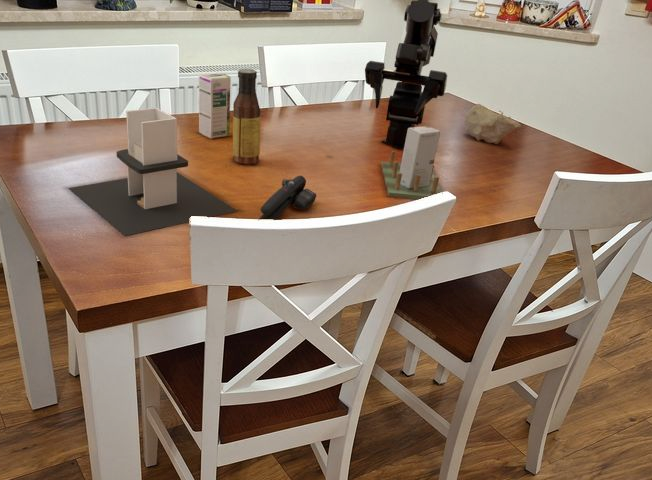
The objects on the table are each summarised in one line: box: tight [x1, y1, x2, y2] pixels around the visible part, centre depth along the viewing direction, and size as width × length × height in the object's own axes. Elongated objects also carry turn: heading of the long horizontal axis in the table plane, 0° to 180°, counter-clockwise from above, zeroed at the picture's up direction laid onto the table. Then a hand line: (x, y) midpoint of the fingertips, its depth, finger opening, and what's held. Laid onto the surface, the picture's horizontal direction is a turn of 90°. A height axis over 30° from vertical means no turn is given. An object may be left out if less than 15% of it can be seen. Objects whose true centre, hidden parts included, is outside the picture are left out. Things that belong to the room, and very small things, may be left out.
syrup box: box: [198, 71, 232, 139], centre depth 163 cm, size 6×6×14 cm
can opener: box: [258, 175, 317, 220], centre depth 127 cm, size 18×7×6 cm, turn 150°
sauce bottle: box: [232, 68, 262, 166], centre depth 146 cm, size 6×6×20 cm
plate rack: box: [380, 150, 443, 200], centre depth 147 cm, size 20×12×4 cm, turn 177°
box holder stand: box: [67, 107, 239, 237], centre depth 125 cm, size 25×24×16 cm
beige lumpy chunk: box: [464, 103, 522, 145], centre depth 179 cm, size 15×7×15 cm
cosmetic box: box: [399, 125, 441, 189], centre depth 142 cm, size 6×4×12 cm
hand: (395, 110), depth 150 cm, fingers open, 9 cm apart
